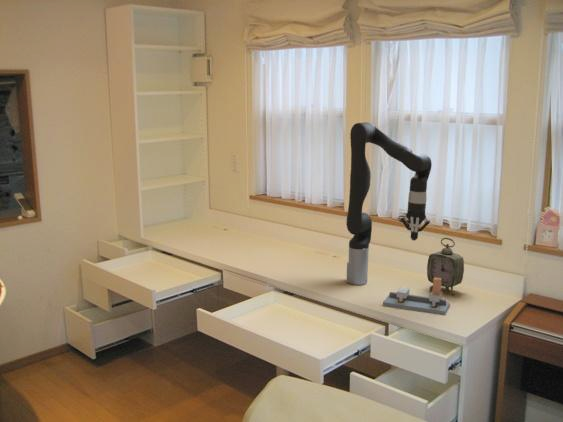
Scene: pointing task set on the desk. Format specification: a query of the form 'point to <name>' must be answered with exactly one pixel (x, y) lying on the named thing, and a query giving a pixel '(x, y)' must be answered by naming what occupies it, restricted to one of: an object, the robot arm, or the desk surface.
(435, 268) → the tabletop clock
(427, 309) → the hole plate with beam
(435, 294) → the sliding leg
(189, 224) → the desk surface
